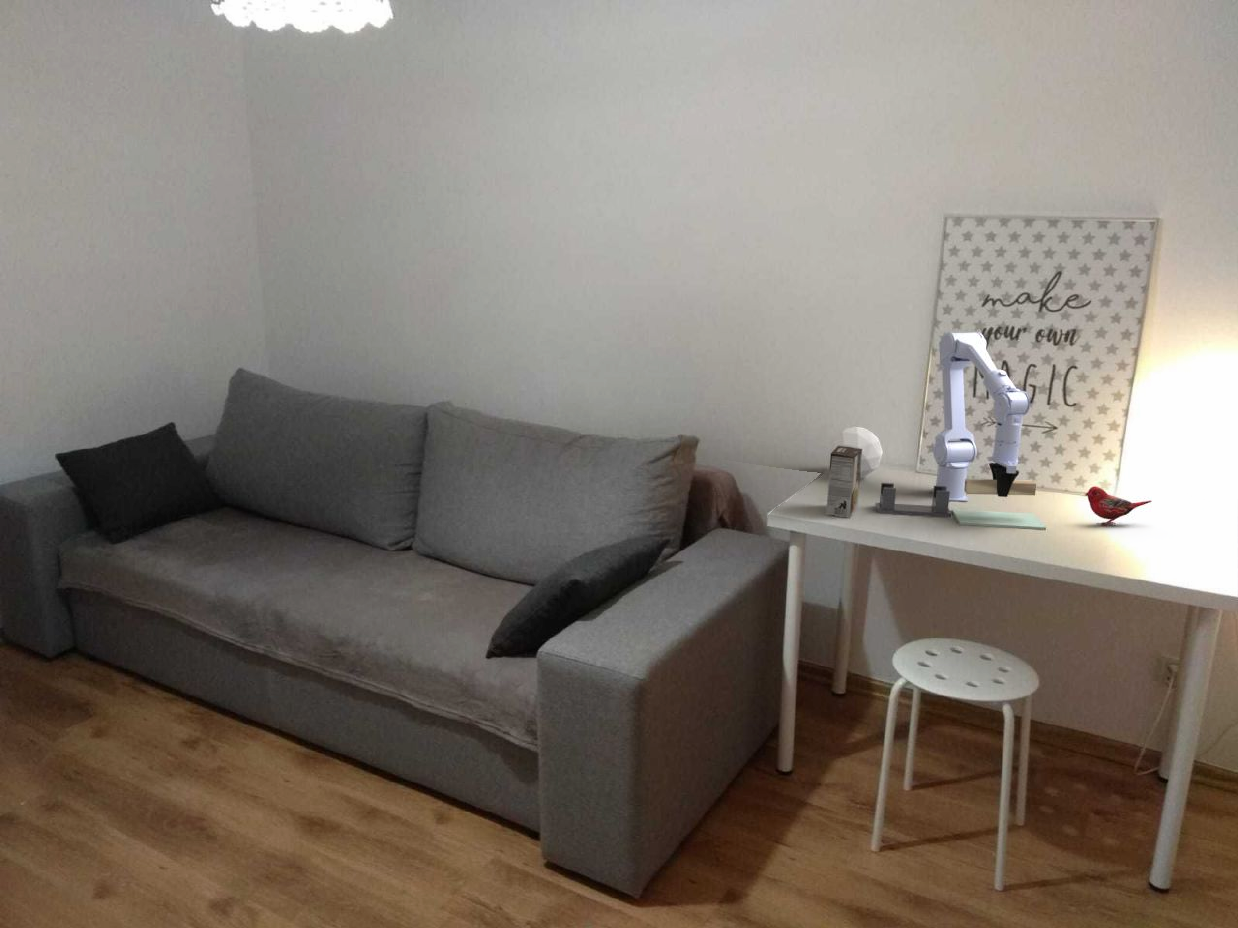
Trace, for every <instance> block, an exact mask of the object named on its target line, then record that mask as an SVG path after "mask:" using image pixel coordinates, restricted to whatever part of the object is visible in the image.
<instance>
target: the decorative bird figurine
mask: <svg viewBox="0 0 1238 928" xmlns="http://www.w3.org/2000/svg"><path fill="white" fill-rule="evenodd" d="M1084 496H1087V499H1088V502H1089V507H1090V509H1091V511H1092V512H1093V513H1094V514H1095V515H1096V516H1097V517H1099V518H1102V519H1104V520H1108V521H1105V522H1104V521H1103V522H1100V523H1099V522H1096V523H1095V524H1096V525H1101V526H1106V525H1109V526H1112V525H1117V524H1116V523H1115V522H1114V521H1115V520H1117V519H1119V518H1122V517H1123V516H1126V515H1129V514H1130V513H1131V512H1132V511H1133V510H1135V509H1136V508H1139V507H1141V506H1143V505H1144V506H1145V505H1146V504H1150V503H1151V502H1152V501H1153V500H1145V501H1144V500H1143V501H1138V502H1131V501H1129V500H1126V499H1124V498H1121V497H1117V496H1113V495H1110V494H1108V493H1107V492H1106V491H1105V490H1104V489H1103V488H1101V487H1098V486H1091V487H1090V488H1089V489H1088V491H1087V492H1086V493H1085V494H1084Z"/></svg>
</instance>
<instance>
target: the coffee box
mask: <svg viewBox="0 0 1238 928" xmlns="http://www.w3.org/2000/svg"><path fill="white" fill-rule="evenodd" d="M829 458H830V459H829V460H830V461H829V475H828V484H827V486H828V487H827V497H826V498H827V499H826V509H825V510H826V512H825V515H826V514H830V515H829V516H831V515H835V516H834V517H838V516H841V517H840V518H844V517H847V518H846V519H851V518H852V517H853V515H854V514H855V513H856V511H857V510H858V507H859V496H860V495H859V494H860V493H859V492H860V483H861V478H860V471H861V458H862V449H858V448H853V447H846V446H837V447H836V449H835V450H834V451H833V452H832V453H831V457H830V456H829Z"/></svg>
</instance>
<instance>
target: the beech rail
mask: <svg viewBox="0 0 1238 928" xmlns="http://www.w3.org/2000/svg"><path fill="white" fill-rule="evenodd" d="M1036 487H1037V483H1036V482H1035V481H1034V479H1033V480H1029V479H1028V480H1027V479H1015V480H1014V481H1013V483H1012V486H1011V488H1010V491H1009V493H1008V496H1036V489H1037V488H1036ZM964 491H965V494H966V495H992V496H993V495H997V496H998V494H997V480H993V479H982V478H981V479H979V478H978V479H977V478H976V479H975V478H972V479H971V478H966V479H965V489H964Z"/></svg>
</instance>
